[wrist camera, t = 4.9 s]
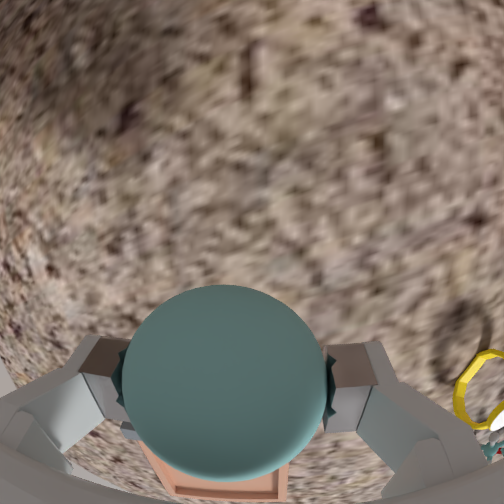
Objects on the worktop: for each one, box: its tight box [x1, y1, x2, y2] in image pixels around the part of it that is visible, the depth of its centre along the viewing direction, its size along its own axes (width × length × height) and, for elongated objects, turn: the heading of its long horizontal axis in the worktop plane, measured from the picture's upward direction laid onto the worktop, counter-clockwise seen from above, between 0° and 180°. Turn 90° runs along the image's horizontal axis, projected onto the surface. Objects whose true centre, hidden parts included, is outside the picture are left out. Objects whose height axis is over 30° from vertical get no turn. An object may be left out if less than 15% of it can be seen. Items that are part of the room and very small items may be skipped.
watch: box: [452, 349, 504, 431], centre depth 16 cm, size 6×3×6 cm, turn 157°
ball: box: [122, 285, 328, 482], centre depth 7 cm, size 5×5×5 cm
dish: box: [137, 440, 289, 502], centre depth 22 cm, size 12×12×1 cm
